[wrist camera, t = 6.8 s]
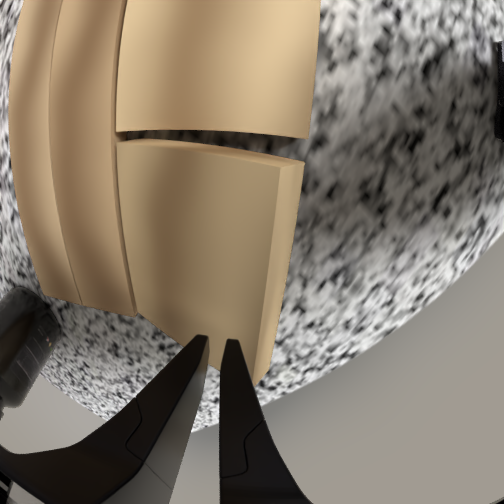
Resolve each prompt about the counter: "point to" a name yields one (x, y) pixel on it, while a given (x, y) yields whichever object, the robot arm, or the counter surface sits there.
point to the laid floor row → (70, 149)
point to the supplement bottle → (23, 343)
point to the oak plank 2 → (209, 241)
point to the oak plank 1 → (218, 66)
